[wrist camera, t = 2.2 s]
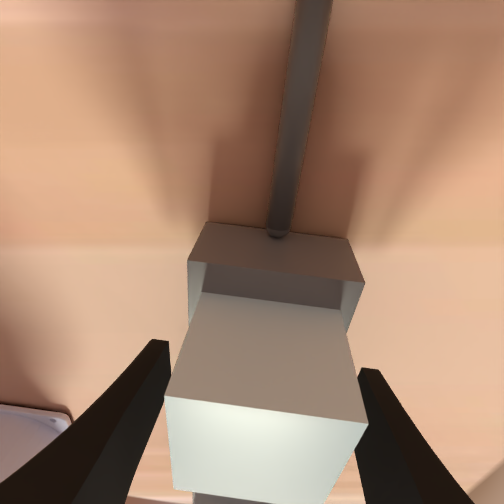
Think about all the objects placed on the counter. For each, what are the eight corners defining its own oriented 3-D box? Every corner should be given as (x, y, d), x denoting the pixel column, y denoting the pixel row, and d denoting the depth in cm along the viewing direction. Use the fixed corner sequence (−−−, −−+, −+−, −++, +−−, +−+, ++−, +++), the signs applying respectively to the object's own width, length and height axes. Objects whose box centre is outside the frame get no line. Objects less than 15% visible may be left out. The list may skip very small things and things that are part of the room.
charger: (209, 348, 15) (173, 488, 10) (212, 261, 12) (164, 395, 7) (306, 361, 15) (319, 510, 10) (332, 276, 12) (368, 424, 7)
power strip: (202, 464, 24) (176, 594, 18) (211, -86, 8) (-24, -616, 2) (275, 474, 24) (273, 609, 18) (441, -63, 8) (1019, -549, 2)
